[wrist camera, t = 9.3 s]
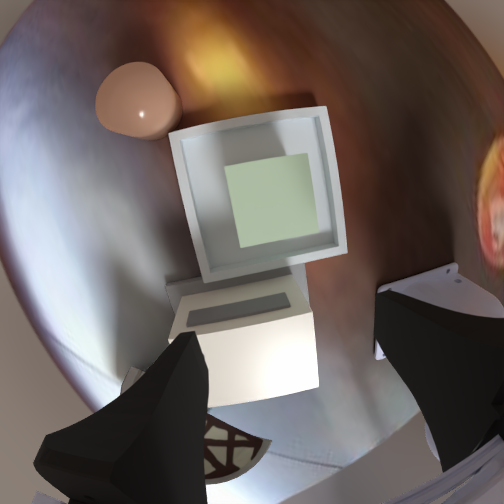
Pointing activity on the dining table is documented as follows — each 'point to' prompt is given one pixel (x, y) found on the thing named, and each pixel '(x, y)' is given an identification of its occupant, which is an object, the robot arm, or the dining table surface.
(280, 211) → the green part
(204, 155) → the tray
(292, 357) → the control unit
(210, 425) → the food container
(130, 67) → the terracotta part
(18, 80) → the dining table surface
